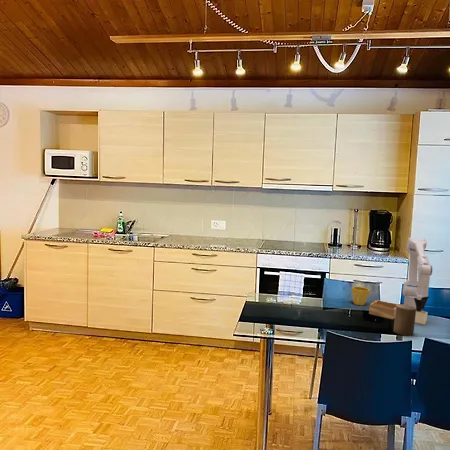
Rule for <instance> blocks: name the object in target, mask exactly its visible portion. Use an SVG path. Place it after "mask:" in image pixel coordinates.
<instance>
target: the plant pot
mask: <svg viewBox="0 0 450 450" xmlns="http://www.w3.org/2000/svg"><path fill="white" fill-rule="evenodd" d="M351 293H352V300H353V304H354V305H357V306H365V305H366V301H367V299H368V297H369V295H370V288H367V287H363V286H357V285H356V286H355V285H354V286H352V289H351Z"/></svg>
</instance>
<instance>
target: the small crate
mask: <svg viewBox="0 0 450 450" xmlns="http://www.w3.org/2000/svg"><path fill="white" fill-rule="evenodd" d="M427 319H428V312H427V311H424V310H421V312H418V311H416V316H415V323H416V324H421V325H425V324H426V323H427V321H428V320H427Z"/></svg>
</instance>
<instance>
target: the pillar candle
mask: <svg viewBox="0 0 450 450" xmlns="http://www.w3.org/2000/svg"><path fill="white" fill-rule="evenodd" d="M415 316H416V307H414V306H410V305H407V304H406V305H404V303H403V304H402V303H399V304H398V305H396V314H395V318H394V321H393V322H394V323H393V332H394V333H396V334H397V335H401V336H407V337H408V336H410V337H411V335H412V336H413V335H414V334H415V333H414V332H415V323H416V322H415Z"/></svg>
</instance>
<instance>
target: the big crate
mask: <svg viewBox="0 0 450 450" xmlns="http://www.w3.org/2000/svg"><path fill="white" fill-rule="evenodd" d="M396 305H398V304H397V303H393V302H389V301H384V300H379V299H377V300H376V299H375V301H373V302H371V303H370V304H369V309H368V315H373V316H376V317H381V318H385V319H389V320H395V314H396Z"/></svg>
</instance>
